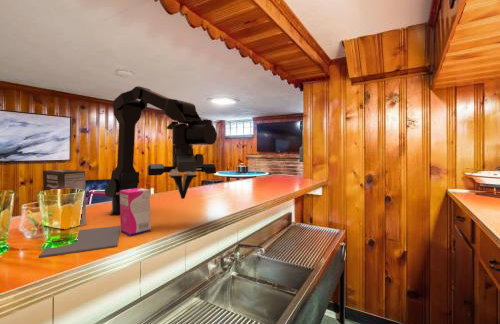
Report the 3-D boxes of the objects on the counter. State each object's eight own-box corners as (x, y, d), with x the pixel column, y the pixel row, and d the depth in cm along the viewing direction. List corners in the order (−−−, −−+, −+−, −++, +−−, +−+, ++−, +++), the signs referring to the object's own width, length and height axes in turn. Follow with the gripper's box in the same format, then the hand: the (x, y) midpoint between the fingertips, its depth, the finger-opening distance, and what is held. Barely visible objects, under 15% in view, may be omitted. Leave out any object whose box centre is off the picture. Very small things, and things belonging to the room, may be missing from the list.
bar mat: (60, 233, 64) (60, 232, 64) (120, 226, 70) (120, 225, 70) (38, 257, 49) (38, 255, 49) (117, 246, 55) (117, 245, 55)
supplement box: (140, 226, 70) (140, 187, 70) (151, 231, 66) (150, 189, 66) (119, 231, 66) (119, 189, 65) (129, 236, 62) (128, 192, 61)
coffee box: (43, 226, 69) (41, 170, 69) (67, 220, 75) (65, 169, 75) (63, 230, 66) (62, 171, 65) (87, 224, 72) (86, 170, 71)
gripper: (149, 143, 59) (150, 207, 60) (222, 145, 67) (222, 201, 68) (147, 144, 69) (147, 199, 70) (210, 145, 77) (210, 194, 78)
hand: (182, 198), depth 71 cm, fingers closed
